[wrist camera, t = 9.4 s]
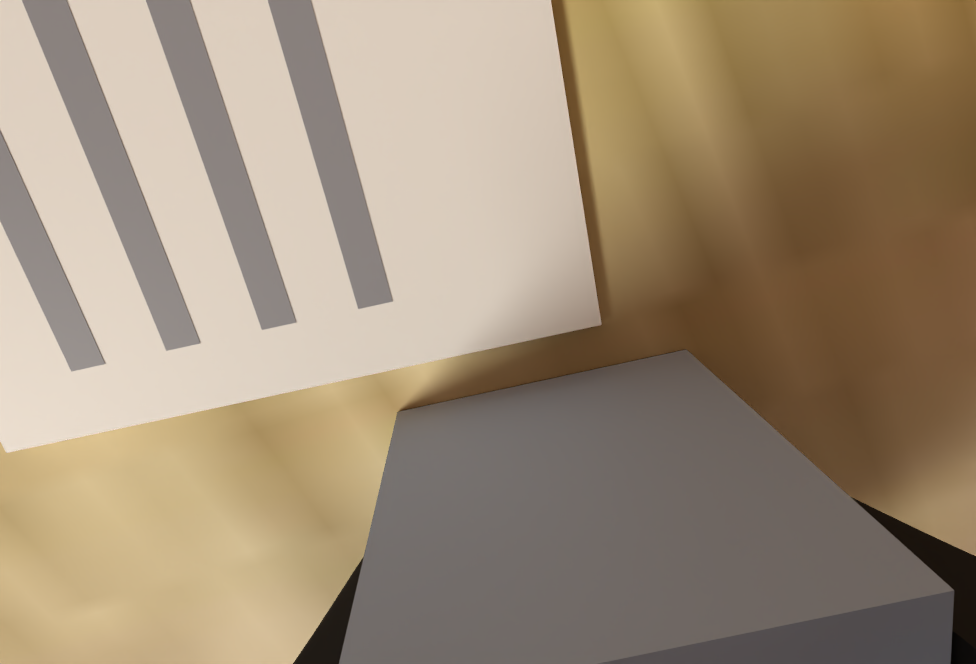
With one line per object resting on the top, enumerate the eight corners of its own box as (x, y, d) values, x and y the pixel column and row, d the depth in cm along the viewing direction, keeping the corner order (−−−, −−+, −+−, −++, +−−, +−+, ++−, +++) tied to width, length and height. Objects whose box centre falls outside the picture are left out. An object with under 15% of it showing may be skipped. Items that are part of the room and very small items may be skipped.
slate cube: (712, 584, 10) (936, 970, 5) (463, 636, 10) (465, 1061, 6) (686, 349, 9) (954, 591, 4) (397, 412, 9) (326, 718, 4)
